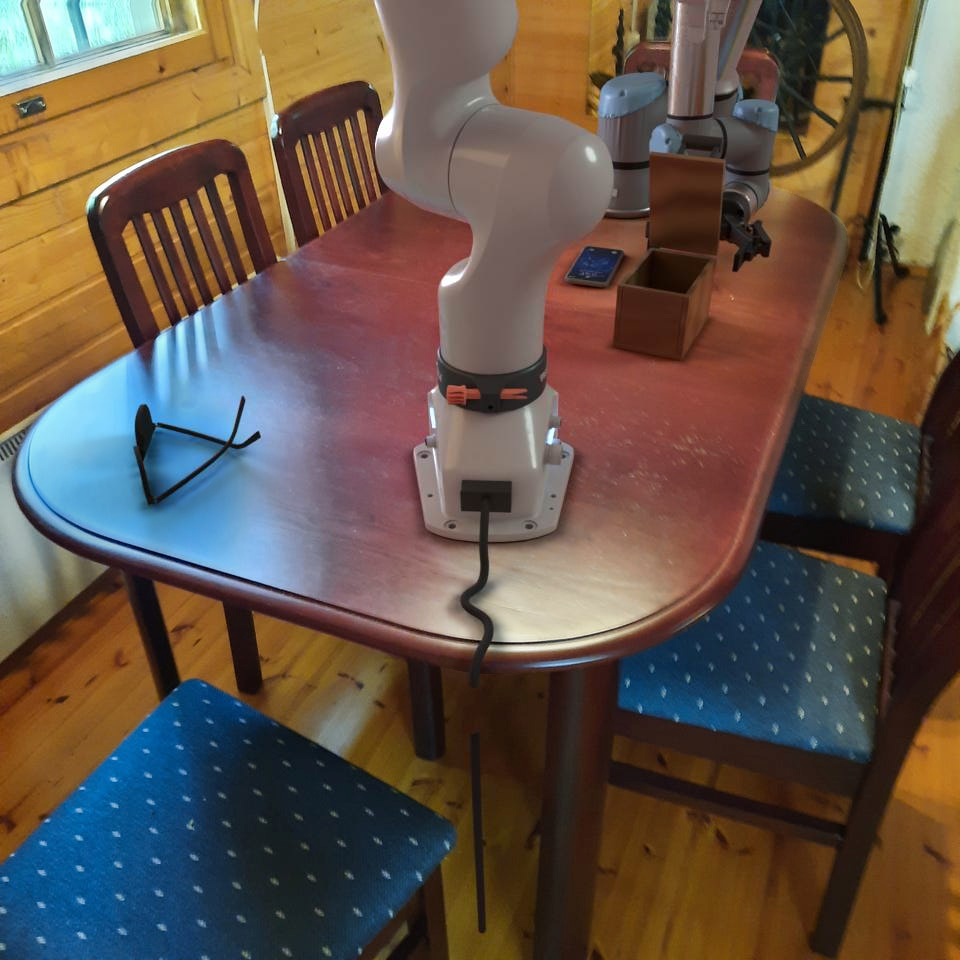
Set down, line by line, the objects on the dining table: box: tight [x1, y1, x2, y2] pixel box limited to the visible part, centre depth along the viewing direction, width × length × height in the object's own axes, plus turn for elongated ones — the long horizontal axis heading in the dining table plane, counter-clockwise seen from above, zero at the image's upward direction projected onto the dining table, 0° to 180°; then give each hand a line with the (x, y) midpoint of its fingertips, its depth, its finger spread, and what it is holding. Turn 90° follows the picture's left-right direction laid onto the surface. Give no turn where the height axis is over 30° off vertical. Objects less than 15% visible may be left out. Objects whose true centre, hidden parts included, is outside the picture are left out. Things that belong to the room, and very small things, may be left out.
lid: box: [649, 134, 726, 257], centre depth 121 cm, size 15×10×9 cm
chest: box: [612, 248, 718, 362], centre depth 122 cm, size 15×10×10 cm
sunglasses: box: [132, 395, 262, 506], centre depth 100 cm, size 17×14×5 cm
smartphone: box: [564, 245, 625, 288], centre depth 144 cm, size 7×1×15 cm
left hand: (706, 35), depth 106 cm, fingers open, 8 cm apart
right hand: (691, 256), depth 131 cm, fingers open, 13 cm apart
